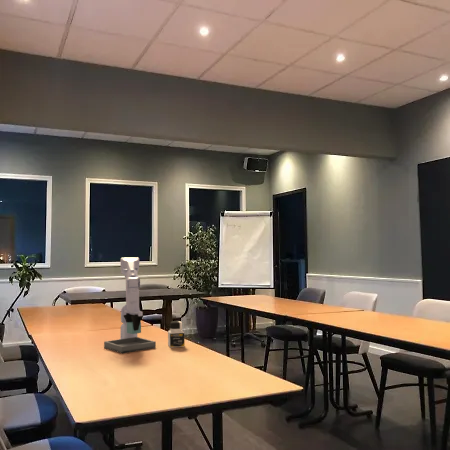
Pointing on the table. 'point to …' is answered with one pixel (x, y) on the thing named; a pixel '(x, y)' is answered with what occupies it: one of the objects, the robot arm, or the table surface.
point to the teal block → (131, 329)
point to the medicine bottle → (176, 335)
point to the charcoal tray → (129, 344)
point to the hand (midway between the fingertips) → (133, 329)
